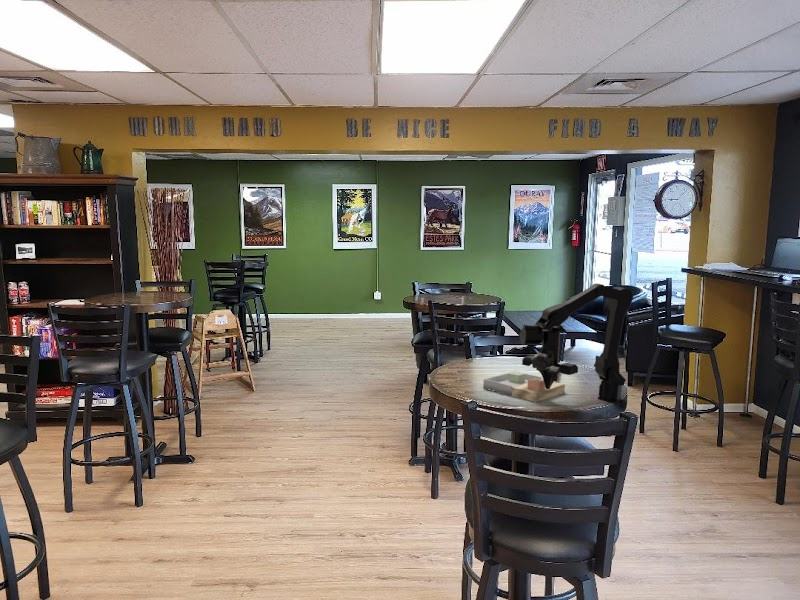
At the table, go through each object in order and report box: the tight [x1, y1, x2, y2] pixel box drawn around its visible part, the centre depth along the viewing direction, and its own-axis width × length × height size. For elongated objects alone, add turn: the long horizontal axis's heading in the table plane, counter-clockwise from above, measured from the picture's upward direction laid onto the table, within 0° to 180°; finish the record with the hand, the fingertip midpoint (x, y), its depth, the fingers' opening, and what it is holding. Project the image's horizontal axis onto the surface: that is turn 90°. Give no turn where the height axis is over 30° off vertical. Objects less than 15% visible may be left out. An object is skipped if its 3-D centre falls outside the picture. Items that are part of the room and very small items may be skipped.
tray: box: [482, 370, 543, 397], centre depth 210 cm, size 12×20×4 cm, turn 134°
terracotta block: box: [527, 378, 546, 391], centre depth 198 cm, size 4×4×3 cm
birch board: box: [512, 378, 566, 403], centre depth 202 cm, size 10×19×3 cm, turn 134°
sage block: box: [507, 370, 526, 383], centre depth 213 cm, size 4×4×3 cm
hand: (547, 389), depth 195 cm, fingers closed
